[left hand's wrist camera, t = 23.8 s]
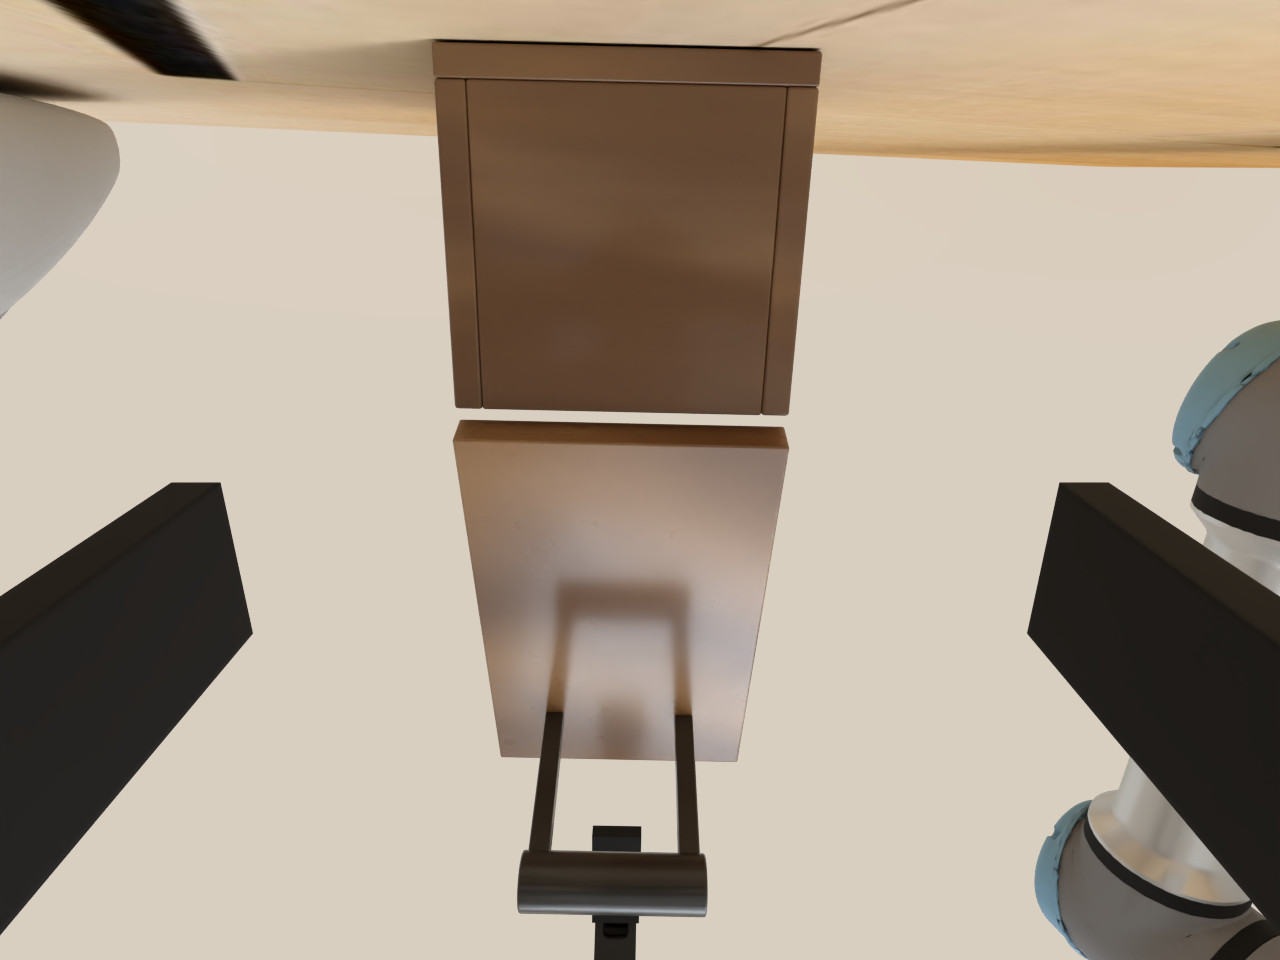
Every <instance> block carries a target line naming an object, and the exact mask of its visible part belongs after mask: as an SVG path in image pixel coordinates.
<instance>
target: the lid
mask: <svg viewBox="0 0 1280 960" xmlns="http://www.w3.org/2000/svg"><path fill="white" fill-rule="evenodd" d="M453 445H454V452H455V459H456V465H457V472H458V478H459V485H460V491H461V498H462V504H463V511H464V518H465V524H466V531H467V537H468V544H469V550H470V557H471V563H472V570H473V576H474V583H475V589H476V596H477V603H478V609H479V616H480V622H481V629H482V635H483V642H484V648H485V655H486V662H487V668H488V675H489V681H490V688H491V694H492V701H493V707H494V714H495V720H496V727H497V734H498V740H499V747H500V753H501V757H525V758H540V764H539V771H538V779H537V787H536V795H535V803H534V811H533V819H532V827H531V835H530V843H529V850H524V851H523V853H522V856H521V861H520V867H519V875H518V888H517V907H518V912H519V913H521V914H569V915H619V916H671V917H705V916H706V913H707V866H706V858H705V855H704V854H703V853H700V850H699V831H698V811H697V791H696V772H695V761H716V762H736V761H737V759H738V753H739V747H740V740H741V735H742V729H743V723H744V716H745V710H746V704H747V698H748V692H749V686H750V680H751V674H752V668H753V662H754V656H755V650H756V644H757V638H758V632H759V626H760V620H761V614H762V608H763V602H764V596H765V590H766V584H767V578H768V572H769V566H770V560H771V554H772V548H773V542H774V536H775V530H776V524H777V518H778V512H779V506H780V500H781V494H782V488H783V482H784V476H785V470H786V464H787V458H788V452H789V446H788V442H787V438H786V434H785V430H784V428H783V427H764V426H718V425H674V424H630V423H585V422H541V421H496V420H460V422H459V425H458V427H457V430H456V433H455V436H454V439H453ZM560 758H573V759H620V760H668V761H675V766H676V802H677V835H678V853H660V852H611V851H561V850H551V846H552V836H553V826H554V816H555V807H556V797H557V787H558V777H559V768H560Z"/></svg>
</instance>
